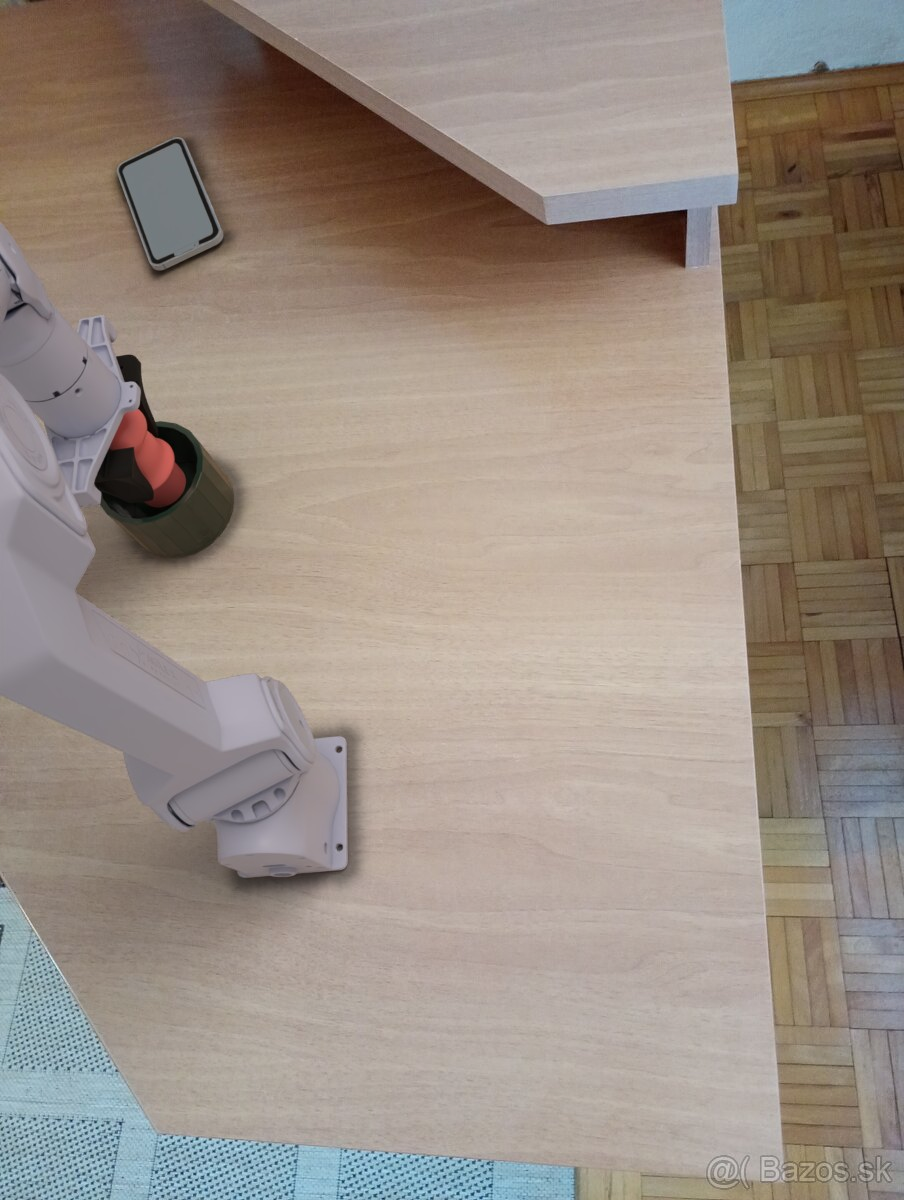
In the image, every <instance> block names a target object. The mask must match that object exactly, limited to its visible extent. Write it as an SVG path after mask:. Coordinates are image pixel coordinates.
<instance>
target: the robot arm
mask: <svg viewBox="0 0 904 1200" xmlns="http://www.w3.org/2000/svg"><path fill="white" fill-rule="evenodd" d="M117 334H118V331H117V329H116V328H115V326H114V325H113V324H112V322H111V321H110V320H109V319H108V317H107V316H106V315H105V314H99V315H95V316H88V317H84V318H79V319H78V323H77V328H74V326H73V325H72V324H71V323H70V322H69V321H68V319H67V317H66V316H64V315H63V314H62V313H61V311H60V310H59V309H58V307H56V305H55V304H54V303H53V302H52V301H51V299H50V298H49V295H48V293H47V290H46V287H45V284H44V282H43V281H42V280H41V278H40V277H39V275H38V273H37V272H36V271H35V269H34V268H32V266H31V265H30V263H28V261H27V259H26V257H25V255H24V254H23V252H22V250H21V248H20V247H19V245H18V244H17V242H16V240H15V239H14V237H13V236H12V234H11V233H10V232H9V231H8V229H7V228H6V226H5V225H4V224H3V223H2V222H1V221H0V697H3V698H4V699H6V700H9V701H11V702H14V704H17V705H19V706H22V707H24V708H26V709H29V710H31V711H33V712H35V713H37V714H39V715H41V716H44V717H46V718H48V719H50V720H52V721H55V722H56V723H59V724H61V725H63V726H66V727H68V728H70V729H72V730H74V731H77V732H78V733H81V734H83V735H85V736H87V737H90V738H91V739H93V740H96V741H98V742H100V743H103V744H105V745H106V746H109V747H111V748H113V749H116V750H118V751H119V752H122V755H123V756H122V757H123V760H124V764H125V768H126V769H125V770H126V772H127V776H128V779H129V781H130V784H131V786H132V789H133V791H134V794H135V795H136V798H137V799H138V801H139V802H141V805H143V806H144V807H147V808H149V809H150V810H151V811H153V813H154V814H155V816H156V817H157V818H158V819H159V820H160V821H161V822H162V823H163V824H164V825H166V826H167V827H168V828H169V827H170V828H172V829H174V830H176V831H177V832H180V833H186V832H188V831H190V830H192V829H194V828H195V827H196V825H198V824H200V823H202V822H203V821H204V822H206V823H208V824H210V823H214V827H215V832H216V843H217V844H216V845H217V849H216V850H217V851H216V852H217V853H216V854H217V861H218V863H219V864H220V865H221V866H224V867H227V868H229V869H232V870H234V871H237V875H238V877H240V878H243V879H246V878H247V879H249V878H260V877H261V878H262V877H273V878H274V877H275V878H286V877H293V876H296V875H298V874H309V873H321V872H322V873H323V872H333V871H343V870H345V869H346V868H347V866H348V863H349V853H348V852H349V847H348V845H349V843H348V839H349V837H348V742H347V739H346V738H345V737H344V736H341V735H337V736H336V735H335V736H326V737H316V738H314V734H313V732H312V730H311V728H310V725H309V723H308V721H307V718H306V716H305V714H304V712H303V710H302V708H301V706H300V704H299V703H298V701H297V700H296V697H295V696H294V695H293V694H292V692H291V691H290V689H289V688H288V687H287V685H286V684H285V683H284V682H283V681H281V680H278V679H275V678H273V677H271V676H269V675H267V676H264V677H261V676H260V675H259V674H258V673H255V672H252V673H244V674H241V675H234V676H229V677H224V678H223V677H222V678H219V679H213V680H207V681H204V680H203V679H201V678H200V677H199V676H197V675H196V674H194V673H193V672H191V670H188V669H187V668H186V667H184V666H183V665H181V664H180V663H178V662H177V661H175V660H174V659H173V658H171V657H170V656H168V655H167V654H165V652H162V651H161V650H160V649H158V648H157V647H155V646H154V645H152V643H150V642H148V641H147V640H146V639H144V638H142V637H141V636H140V635H138V634H137V633H135V632H134V631H132V630H131V629H129V628H128V627H127V626H125V625H124V624H123V623H121V622H119V621H118V620H116V618H114V617H112V616H110V615H109V614H108V613H107V612H105V611H104V610H102V609H100V607H98V606H97V605H95V604H93V603H92V602H90V600H88V599H86V598H85V597H83V596H82V595H80V594H79V593H78V592H77V591H76V590H77V587H78V586H79V584H80V582H81V580H82V579H83V576H84V575H85V573H86V571H87V570H88V568H89V566H90V564H91V562H92V560H93V558H94V557H95V555H96V552H97V549H96V546H95V544H94V542H93V540H92V538H91V537H90V534H89V532H88V523H87V520H86V517H85V515H84V513H83V511H82V509H83V508H89V507H93V506H94V507H95V506H100V503H101V492H104V493H107V494H110V495H113V496H115V497H117V498H120V499H122V500H124V501H126V502H128V503H137V502H144V501H151V500H153V497H154V491H153V488H152V486H151V484H150V483H149V481H148V480H147V479H146V478H145V476H144V475H143V474H142V472H141V471H140V469H139V467H138V465H137V462H136V459H135V455H134V447H130V448H123V449H117V450H111V449H110V448H109V447H110V445H111V442H112V440H113V438H114V436H115V434H116V431H117V429H118V427H119V425H120V423H121V421H122V418H123V416H124V415H125V414H126V413H128V412H133V411H135V410H137V409H139V410H140V411H141V412H142V414H143V415H144V417H145V419H146V422H147V431H148V432H150V433H151V434H152V435H153V436H154V437H155V438H158V428H157V425H156V422H157V421H156V420H155V417H154V415H153V413H152V410H151V408H150V405H149V402H148V399H147V396H146V392H145V389H144V388H145V387H144V384H143V376H142V363H141V361H140V360H139V359H138V358H137V356H135V355H134V354H130V353H129V354H122V355H116V352H115V350H114V347H113V344H112V343H115V342H116V340H117ZM40 421H42V422H43V425H44V428H45V429H44V428H43V426H42V424H41V422H40ZM100 491H101V492H100ZM81 508H82V509H81ZM339 748H341V751H340V752H338V749H339ZM340 845H342V849H341V850H338V847H339V846H340Z"/></svg>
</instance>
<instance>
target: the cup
mask: <svg viewBox="0 0 904 1200" xmlns="http://www.w3.org/2000/svg"><path fill="white" fill-rule="evenodd" d="M155 422H156V425H157V428H158V438H159V439H162V440H164V441H165V442H167V443H168V444H169V445H170V447H171V448H172V450H173V453H174V459H175V460H174V462H175V463H176V464H177V465H178V466H179V467H180V469H181V470H182V471H183V472H184V474H185V477H186V485H185V489H184V491H183V493H182V495H181V496H180V497H179V498H178V499H177V500H176V501H175V502H173V503H172V504H170V505H168V506H165V507H158V508H157V507H151V506H149V505H147V504H146V503H145V502H137V503H128V502H126V501H124V500H122V499H120V498H117V497H115V496H113V495H110V494H107V493H104V492H101V491H100V492H101V503H100V505H99V506H100V508H101V509H102V510H103V512H104V513H105V514H106V515H107V516H108V517H109V518H110V519H111V520H112V521H114V522H115V524H116V525H118V526H119V527H120V528H121V529H122V530H123V531H124V532H125V533H127V534H128V535H129V536H130V537H132V539H133V540H134V541H136V542H137V544H139V545H140V546H141V547H143V548H144V549H145V550H146V551H148V552H150V553H152V554H153V555H156V556H158V557H162V558H169V559H178V558H184V557H188V556H191V555H194V554H196V553H199V552H201V551H202V550H204V549H206V548H207V547H209V546H210V545H211V544H212V543H214V542H215V541H216V540H217V539H219V537H220V536H221V535H222V533H223V532H224V530H225V529H226V528H227V526H228V524H229V522H230V520H231V517H232V515H233V510H234V505H235V492H234V488H233V485H232V482H231V481H230V479H229V477H228V475H227V474H226V472H224V471H223V469H222V467H221V466H220V465H219V464H218V463H217V461H216V460H214V458H213V457H212V456H211V454H210V452H209V451H208V450H207V449H206V448H205V447H204V446H203V444H202V443H201V442H200V440H199V439H198V438H197V437H196V436H195V435H194V433H193V432H192V431H191V430H189V429H188V428H186V427H185V426H182V425H180V424H178V423H176V422H169V421H162V420H159V421H155Z"/></svg>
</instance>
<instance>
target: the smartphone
mask: <svg viewBox="0 0 904 1200" xmlns="http://www.w3.org/2000/svg"><path fill="white" fill-rule="evenodd" d="M197 168H198V167H197V166H196V164H195V162H194V159H193V155H192V154H191V152H190V149H189V147H188V144H187V143H186V141H185V139H183V137H179V136H176V137H171V138H170V139H167V140H165V141H163V142H162V143H159V144H158V145H155V146H153V147H151V148H149V149H147V150H145V151H143V152H140V153H139V154H136V155H134V156H132V157H130V158H128V159H126V160H124V161H123V162H121V163H120V164H119V165H118V166H117V168H116V174H117V177H118V180H119V182H120V185H121V188H122V191H123V193H124V196H125V199H126V201H127V205H128V207H129V210H130V213H131V215H132V219H133V221H134V224H135V227H136V230H137V232H138V235H139V238H140V241H141V244H142V246H143V249H144V252H145V254H146V257H147V260H148V263H149V265H150V266H151V267H152V269H153V270H156V271H165V270H167V269H169V268H171V267H173V266H175V265H177V264H179V263H181V262H183V261H186V260H188V259H190V258H191V257H194V256H196V255H198V254H201V253H203V252H205V251H206V250H208V249H211V248H213V247H215V246H218V245H219V244H220V243H221V242H222V241H223V239H224V231H223V229H222V226H221V224H220V222H219V219H218V217H217V213H216V212H215V209H214V206H213V204H212V202H211V200H210V196H209V195H208V193H207V190H206V187H205V186H204V183H203V181H202V178H201V176H200V173H199V171H198V169H197Z"/></svg>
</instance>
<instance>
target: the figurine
mask: <svg viewBox="0 0 904 1200" xmlns="http://www.w3.org/2000/svg"><path fill="white" fill-rule="evenodd" d="M130 447H134V455H135V459H136V462H137V465H138V467H139V469H140V471H141V472H142V474H143V475H144V476H145V478H146V479H147V480H148V481H149V483H150V484H151V486H152V488H153V491H154V497H153V500H151V501H144V502H145V503H146V504H147V505H149V506H151V507H157V508H158V507H165V506H168V505H170V504H172V503H173V502H175V501H176V500H177V499H178V498H179V497H180V496H181V495H182V493H183V491H184V489H185V485H186V477H185V474H184V472H183V471H182V470H181V469H180V467H179V466H178V465H177V464H176V463H175V462H174V460H175V459H174V453H173V450H172V448H171V447H170V445H169V444H168V443H167V442H165V441H164V440H162V439H159V438H155V437H154V436H153V435H152V434H151V433H150V432H148V431H147V422H146V419H145V417H144V415H143V414H142V412H141V411H140V410H139V409H137V410H135V411H133V412H128V413H126V414H125V415H124V416H123V418H122V421H121V423H120V425H119V427H118V429H117V431H116V434H115V436H114V438H113V440H112V442H111V445H110V447H109V448H110V449H111V450H117V449H123V448H130Z"/></svg>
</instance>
